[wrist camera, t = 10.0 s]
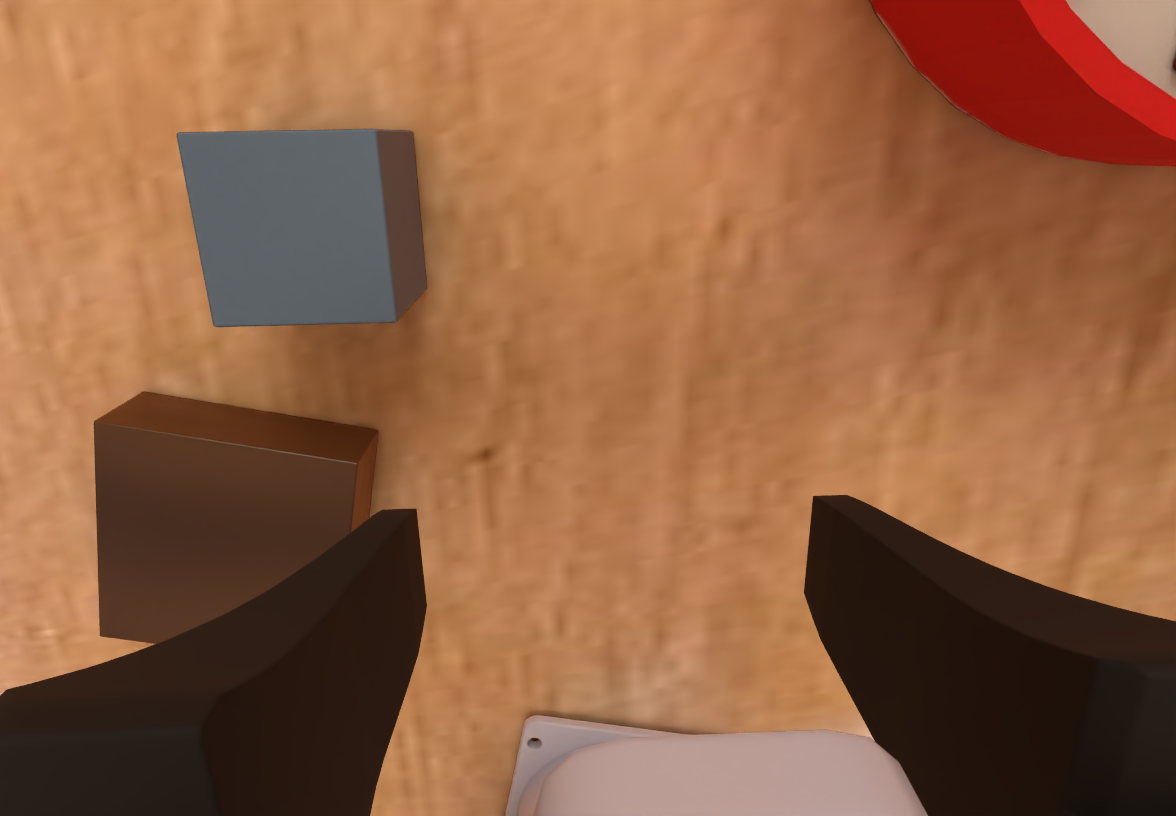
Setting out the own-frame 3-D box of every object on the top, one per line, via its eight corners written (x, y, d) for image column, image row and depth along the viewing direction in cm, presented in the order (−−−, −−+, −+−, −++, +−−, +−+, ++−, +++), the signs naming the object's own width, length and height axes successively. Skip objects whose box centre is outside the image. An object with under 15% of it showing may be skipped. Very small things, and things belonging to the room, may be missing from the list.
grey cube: (427, 288, 22) (397, 323, 18) (278, 291, 22) (212, 328, 18) (413, 130, 21) (376, 128, 16) (252, 133, 20) (174, 132, 16)
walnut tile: (358, 618, 26) (337, 668, 23) (143, 588, 25) (99, 636, 23) (379, 429, 24) (358, 462, 21) (143, 390, 23) (92, 420, 20)
